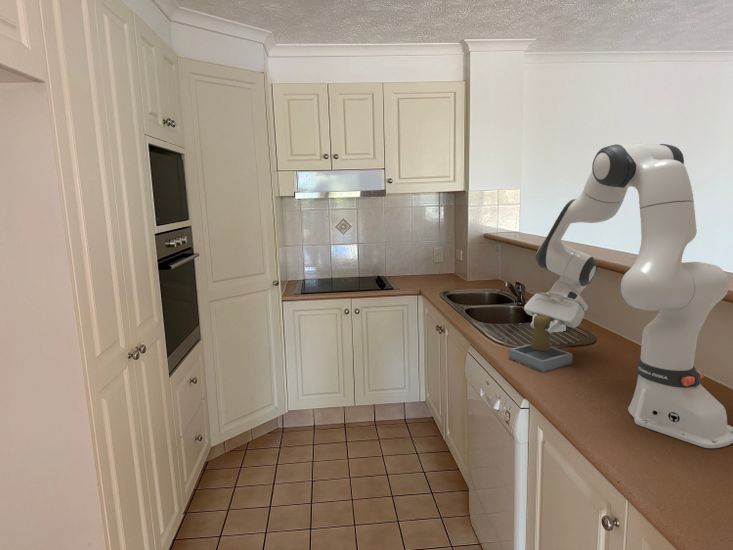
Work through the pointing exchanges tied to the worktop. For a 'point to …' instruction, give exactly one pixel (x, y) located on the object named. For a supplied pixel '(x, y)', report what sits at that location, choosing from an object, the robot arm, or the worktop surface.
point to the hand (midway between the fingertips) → (540, 329)
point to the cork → (541, 333)
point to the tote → (541, 357)
